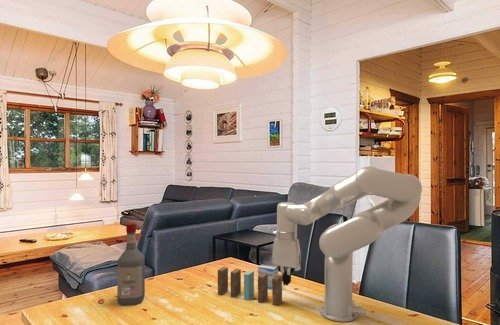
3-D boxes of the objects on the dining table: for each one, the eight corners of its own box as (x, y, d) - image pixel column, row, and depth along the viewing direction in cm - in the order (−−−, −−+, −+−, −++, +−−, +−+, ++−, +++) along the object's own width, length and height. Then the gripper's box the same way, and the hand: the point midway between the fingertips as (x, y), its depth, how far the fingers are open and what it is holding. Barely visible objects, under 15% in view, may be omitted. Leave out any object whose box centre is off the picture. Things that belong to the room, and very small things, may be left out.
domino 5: (282, 301, 133) (281, 275, 133) (277, 306, 128) (277, 279, 128) (277, 300, 134) (277, 274, 134) (272, 305, 129) (272, 278, 129)
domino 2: (240, 293, 141) (240, 269, 141) (234, 297, 136) (234, 272, 136) (236, 292, 141) (236, 268, 141) (230, 297, 137) (230, 272, 137)
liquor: (141, 305, 129) (140, 225, 129) (116, 306, 128) (115, 226, 128) (145, 295, 139) (145, 221, 139) (122, 296, 137) (121, 222, 137)
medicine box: (257, 286, 148) (257, 266, 148) (262, 283, 152) (261, 264, 152) (274, 290, 145) (274, 269, 145) (278, 286, 148) (278, 266, 148)
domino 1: (228, 291, 143) (228, 267, 143) (221, 295, 139) (221, 270, 139) (223, 290, 144) (223, 266, 144) (217, 294, 140) (217, 270, 140)
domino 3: (254, 296, 138) (253, 271, 138) (248, 300, 134) (248, 274, 134) (249, 295, 139) (249, 270, 139) (244, 299, 134) (243, 274, 134)
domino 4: (267, 298, 135) (267, 273, 135) (262, 303, 131) (262, 277, 131) (263, 297, 136) (263, 272, 136) (257, 302, 132) (257, 276, 132)
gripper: (264, 235, 129) (264, 284, 129) (303, 239, 123) (302, 290, 123) (272, 231, 136) (271, 277, 136) (309, 235, 129) (308, 284, 129)
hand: (286, 283), depth 129 cm, fingers closed
